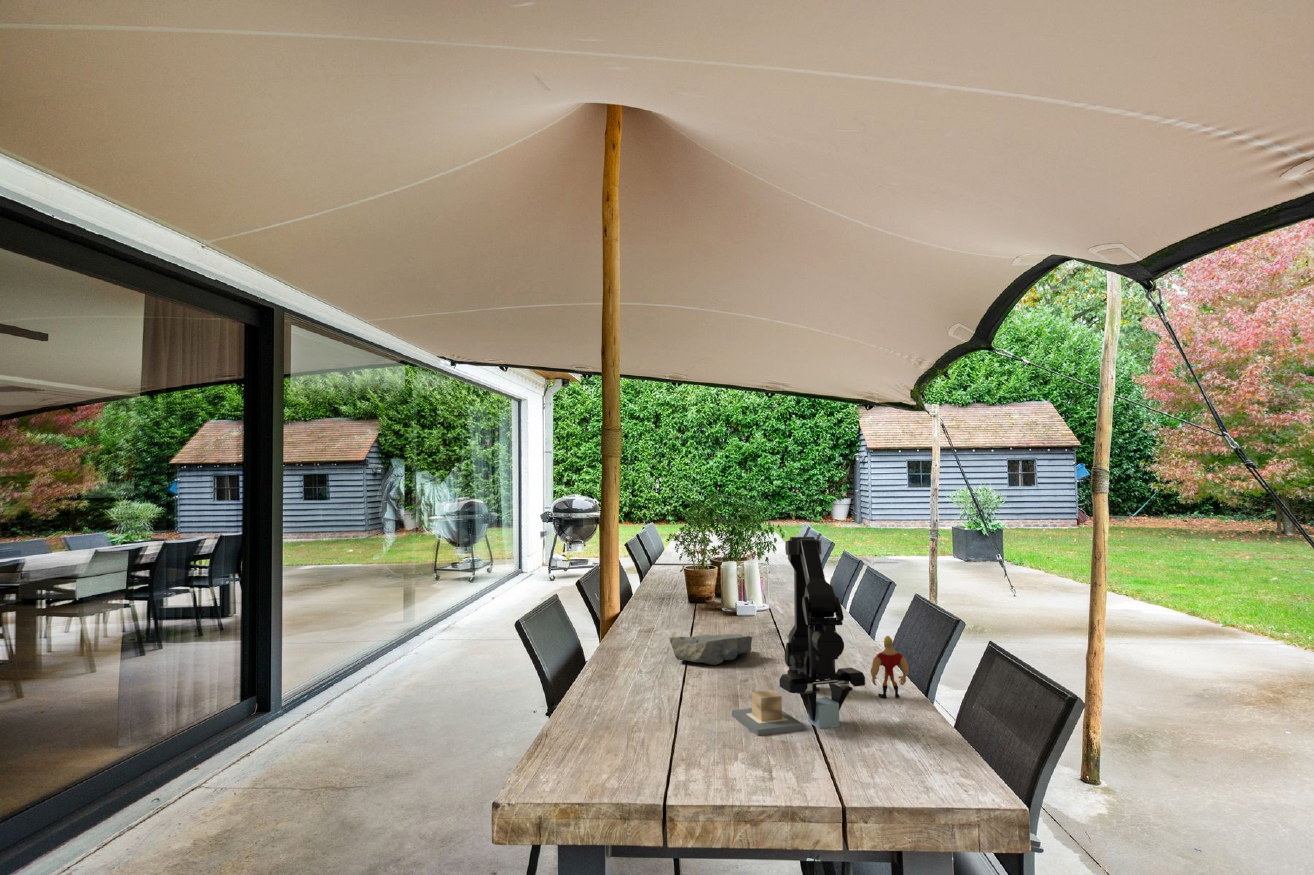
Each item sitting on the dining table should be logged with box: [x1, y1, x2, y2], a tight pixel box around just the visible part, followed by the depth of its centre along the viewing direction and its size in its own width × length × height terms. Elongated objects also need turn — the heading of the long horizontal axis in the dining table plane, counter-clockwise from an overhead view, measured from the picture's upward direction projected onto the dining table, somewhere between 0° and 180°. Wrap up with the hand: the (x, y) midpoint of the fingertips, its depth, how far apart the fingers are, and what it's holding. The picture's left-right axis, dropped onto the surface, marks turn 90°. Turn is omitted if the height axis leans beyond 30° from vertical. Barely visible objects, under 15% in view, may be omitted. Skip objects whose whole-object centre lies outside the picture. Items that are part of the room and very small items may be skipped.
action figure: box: [870, 635, 910, 699], centre depth 184 cm, size 10×4×15 cm, turn 91°
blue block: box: [807, 696, 840, 730], centre depth 164 cm, size 5×5×5 cm
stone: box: [669, 633, 753, 666], centre depth 226 cm, size 24×8×25 cm
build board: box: [731, 707, 805, 736], centre depth 165 cm, size 11×14×1 cm
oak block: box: [751, 689, 783, 721], centre depth 165 cm, size 5×5×5 cm
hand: (823, 719), depth 164 cm, fingers closed on blue block, 5 cm apart
